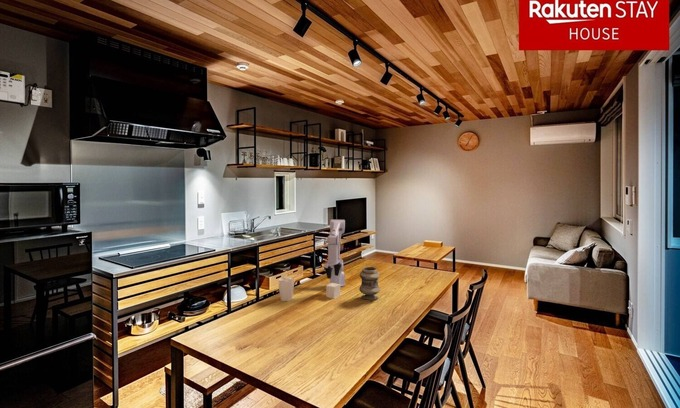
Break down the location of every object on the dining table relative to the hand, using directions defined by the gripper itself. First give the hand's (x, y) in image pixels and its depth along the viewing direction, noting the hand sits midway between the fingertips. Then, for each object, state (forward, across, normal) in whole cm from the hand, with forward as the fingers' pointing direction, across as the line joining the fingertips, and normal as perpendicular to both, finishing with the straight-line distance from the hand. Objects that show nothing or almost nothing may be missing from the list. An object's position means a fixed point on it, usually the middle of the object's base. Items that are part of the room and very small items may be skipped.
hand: (332, 277), depth 214 cm
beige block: (+10, +5, +4) cm, 12 cm away
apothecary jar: (+10, -5, +23) cm, 26 cm away
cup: (+10, +25, -15) cm, 31 cm away
